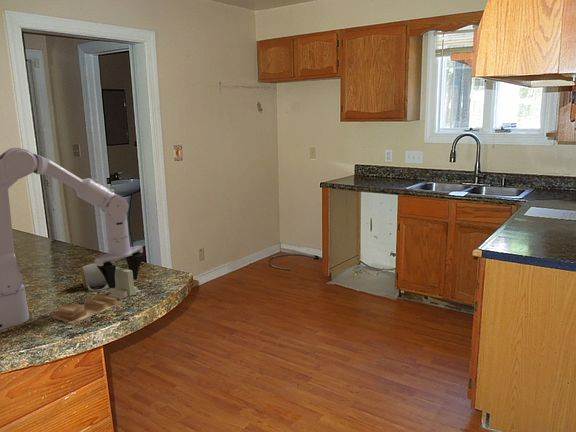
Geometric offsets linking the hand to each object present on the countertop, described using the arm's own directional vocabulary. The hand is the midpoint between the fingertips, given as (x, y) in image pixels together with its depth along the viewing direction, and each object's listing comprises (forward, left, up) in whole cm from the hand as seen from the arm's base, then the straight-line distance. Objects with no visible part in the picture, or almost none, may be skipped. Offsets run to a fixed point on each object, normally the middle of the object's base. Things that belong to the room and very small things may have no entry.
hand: (123, 283), depth 133 cm
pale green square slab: (0, 0, -3) cm, 3 cm away
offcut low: (-17, -1, -3) cm, 17 cm away
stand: (0, 0, -4) cm, 4 cm away
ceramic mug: (+1, +13, -4) cm, 13 cm away
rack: (-12, -1, -4) cm, 13 cm away
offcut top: (-17, -1, -2) cm, 17 cm away
